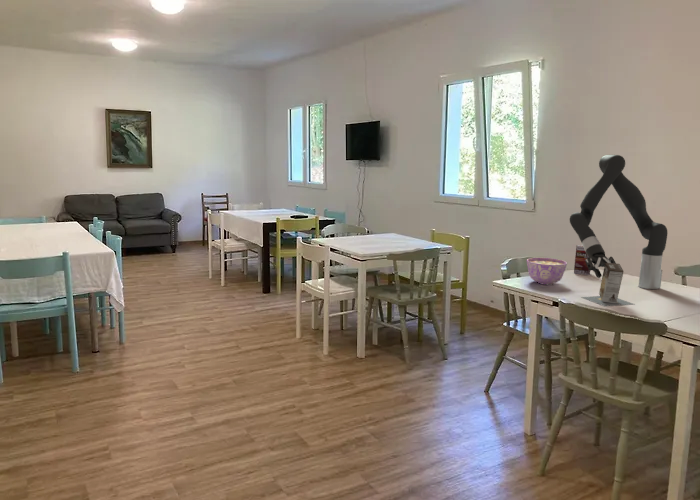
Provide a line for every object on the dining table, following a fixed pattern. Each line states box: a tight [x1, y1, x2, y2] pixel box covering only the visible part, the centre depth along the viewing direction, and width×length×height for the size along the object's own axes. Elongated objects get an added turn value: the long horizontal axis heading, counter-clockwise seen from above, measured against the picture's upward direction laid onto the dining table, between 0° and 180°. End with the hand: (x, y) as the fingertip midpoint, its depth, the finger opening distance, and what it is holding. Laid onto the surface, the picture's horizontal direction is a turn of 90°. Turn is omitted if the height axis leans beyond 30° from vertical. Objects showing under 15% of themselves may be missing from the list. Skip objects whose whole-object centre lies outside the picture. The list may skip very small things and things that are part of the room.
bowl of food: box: [526, 257, 568, 285], centre depth 290 cm, size 20×20×12 cm
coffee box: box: [598, 263, 625, 303], centre depth 254 cm, size 9×6×16 cm
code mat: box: [581, 295, 634, 307], centre depth 257 cm, size 16×16×1 cm
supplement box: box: [573, 244, 591, 276], centre depth 314 cm, size 9×5×16 cm, turn 68°
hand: (607, 276), depth 256 cm, fingers open, 8 cm apart
